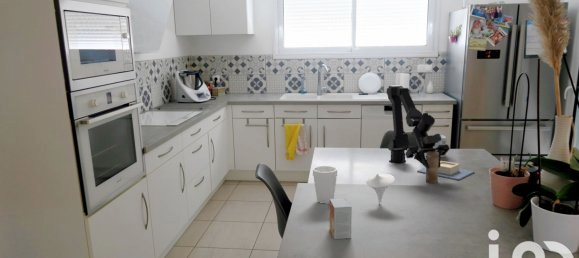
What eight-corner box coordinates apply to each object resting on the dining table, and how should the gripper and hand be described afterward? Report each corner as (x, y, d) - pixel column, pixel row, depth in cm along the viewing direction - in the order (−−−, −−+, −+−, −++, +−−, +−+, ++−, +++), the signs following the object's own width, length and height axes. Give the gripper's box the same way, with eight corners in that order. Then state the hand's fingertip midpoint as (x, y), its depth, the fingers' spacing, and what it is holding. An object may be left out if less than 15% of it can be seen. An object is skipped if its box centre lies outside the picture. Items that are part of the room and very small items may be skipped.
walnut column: (423, 181, 186) (424, 152, 184) (429, 178, 190) (430, 150, 187) (434, 183, 183) (435, 154, 180) (439, 181, 186) (441, 152, 184)
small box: (329, 229, 140) (329, 198, 138) (346, 228, 140) (346, 197, 138) (333, 239, 132) (333, 207, 130) (351, 238, 132) (351, 206, 130)
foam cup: (339, 198, 168) (339, 166, 165) (334, 206, 159) (334, 173, 157) (316, 196, 171) (316, 165, 169) (310, 204, 162) (309, 171, 160)
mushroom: (379, 210, 154) (380, 179, 152) (360, 202, 163) (360, 172, 161) (400, 204, 159) (401, 174, 157) (380, 196, 168) (380, 167, 166)
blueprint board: (417, 171, 201) (417, 163, 200) (433, 165, 212) (434, 157, 211) (458, 180, 187) (459, 171, 186) (474, 172, 198) (474, 164, 197)
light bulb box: (443, 154, 233) (443, 134, 231) (446, 157, 227) (447, 137, 225) (423, 154, 234) (423, 135, 232) (425, 157, 228) (426, 137, 226)
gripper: (409, 128, 184) (420, 159, 175) (448, 126, 188) (461, 156, 179) (400, 142, 193) (411, 172, 185) (438, 140, 197) (450, 169, 188)
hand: (433, 167), depth 184 cm, fingers closed on walnut column, 5 cm apart
